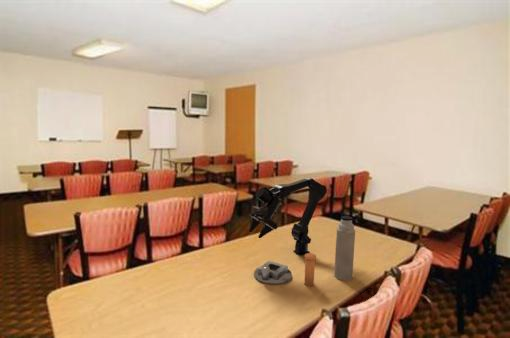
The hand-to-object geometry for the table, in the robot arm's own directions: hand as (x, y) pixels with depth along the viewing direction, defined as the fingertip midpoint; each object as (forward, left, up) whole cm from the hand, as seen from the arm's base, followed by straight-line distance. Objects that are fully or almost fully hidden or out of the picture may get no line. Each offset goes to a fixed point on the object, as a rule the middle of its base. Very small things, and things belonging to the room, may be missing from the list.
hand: (254, 234), depth 157 cm
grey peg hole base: (+1, +16, -14) cm, 21 cm away
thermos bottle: (-25, +35, -15) cm, 45 cm away
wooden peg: (-7, +31, -15) cm, 35 cm away
